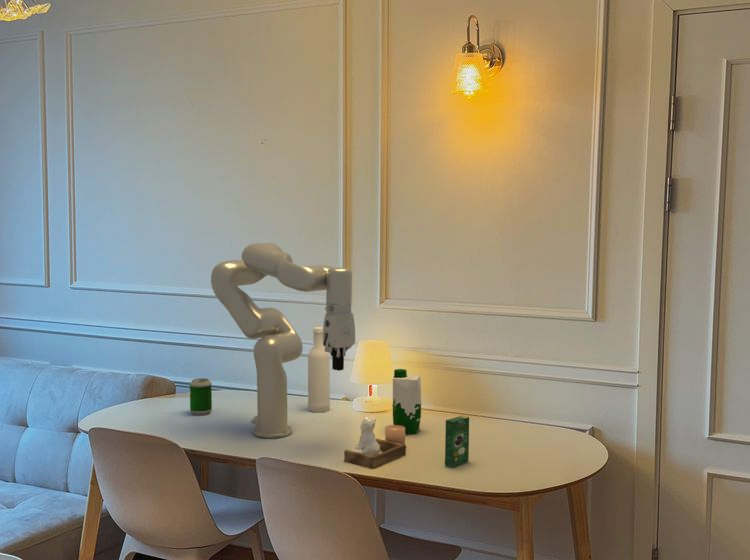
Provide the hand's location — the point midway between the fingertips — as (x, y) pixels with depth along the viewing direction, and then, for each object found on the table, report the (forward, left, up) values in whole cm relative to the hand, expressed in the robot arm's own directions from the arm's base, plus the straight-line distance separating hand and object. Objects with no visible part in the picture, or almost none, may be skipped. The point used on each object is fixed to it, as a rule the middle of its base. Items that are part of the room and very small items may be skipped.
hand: (337, 369), depth 224 cm
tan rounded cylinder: (+14, +10, -24) cm, 29 cm away
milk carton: (+7, +26, -24) cm, 36 cm away
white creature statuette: (+12, -2, -24) cm, 27 cm away
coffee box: (+37, +8, -24) cm, 45 cm away
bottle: (-34, +29, -24) cm, 50 cm away
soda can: (-64, 0, -24) cm, 68 cm away
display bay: (+16, -2, -24) cm, 28 cm away
